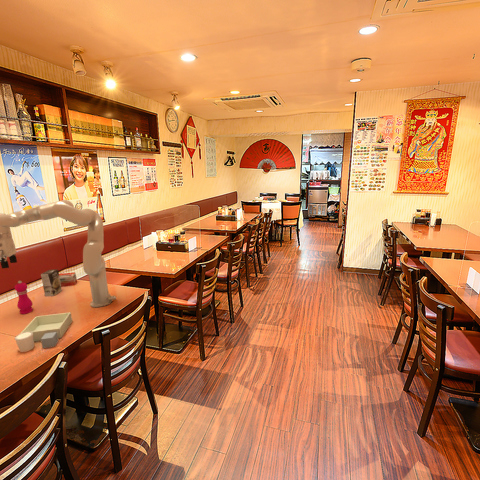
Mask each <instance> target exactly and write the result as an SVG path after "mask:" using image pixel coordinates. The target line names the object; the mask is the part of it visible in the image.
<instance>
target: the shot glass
mask: <svg viewBox="0 0 480 480" xmlns="http://www.w3.org/2000/svg"><path fill="white" fill-rule="evenodd" d="M20 333H21V332H20ZM20 333H18V334H17V335H16V336H15V338H14V340H15V342H16V345H17V348H18V350H19V352H20V353H25V352H28V351H31V350H33V349H34V348H35V342H34V340H33V333H32V332H24V333H21V334H20Z"/></svg>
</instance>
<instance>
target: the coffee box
mask: <svg viewBox="0 0 480 480" xmlns="http://www.w3.org/2000/svg"><path fill="white" fill-rule="evenodd" d="M59 274H60V273H59V269H58V268H57V269H48V270H46V271H44V272H42V273H40V277H41V281H42V282H41V283H42V288H43V293H44V296H45V297H54V296H56V295H57V294H59V293H61V292H62V291H63V290H62V288H63V287H61V283H60V277H59Z"/></svg>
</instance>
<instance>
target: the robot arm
mask: <svg viewBox="0 0 480 480" xmlns="http://www.w3.org/2000/svg"><path fill="white" fill-rule="evenodd" d="M55 218H60V219H63V220H65V221H67V222H69V223H72V224H75V225H77V226H79V227H85V226H87V242H86V243H85V244H84V246H83V249H82V269H83V271H84V273H85V274H86V275H88V279H89V287H90V293H91V299H92V301H91V302H90V303H89V304H90V307H92V308H102V307H106V306H108V305H110V304H111V303H112V302H113V300H117V296H116V295H111V294H110V293H109V287H108V280H107V271H106V262H105V258H104V257H103V256H102V252H103V251H104V248H105V245H104V236H105V235H104V222H103V221H104V220H103V218H102V217H101V215H100V214H99V213H98V212H97V211H95V210H94V209H90V208H84V209H79V208H76V207H74V204H73V203H72V201H70V200H67V199H64V200H58V201H53V202H50V203H46V204H45V203H44V204H41V205H38V206H36V207H32V208H27V209H23V210H19V211H15V212H11V213H8V214H6V213H0V265H1V269H9V268H10V266H9V265H10V264H16V263H18V260H17V254H16V253H17V249H16V245H15V242H14V239H13V236H12V230H11V228H17V227H21V226H22V225H25V224H29V223H33V222H36V221H49V220H52V219H55ZM8 259H9V261H8ZM9 263H10V264H9Z"/></svg>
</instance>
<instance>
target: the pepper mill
mask: <svg viewBox="0 0 480 480" xmlns="http://www.w3.org/2000/svg"><path fill="white" fill-rule="evenodd" d="M14 290H15V291H16V295H18V301H17V309H19V313H20V315H26V314H29V313H32V312H33V310H34V308H33V301H32V300H31V298H29V295H28V285H27V283H26V282H22V280H18V281H17V283H16V284H15V285H14Z"/></svg>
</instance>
